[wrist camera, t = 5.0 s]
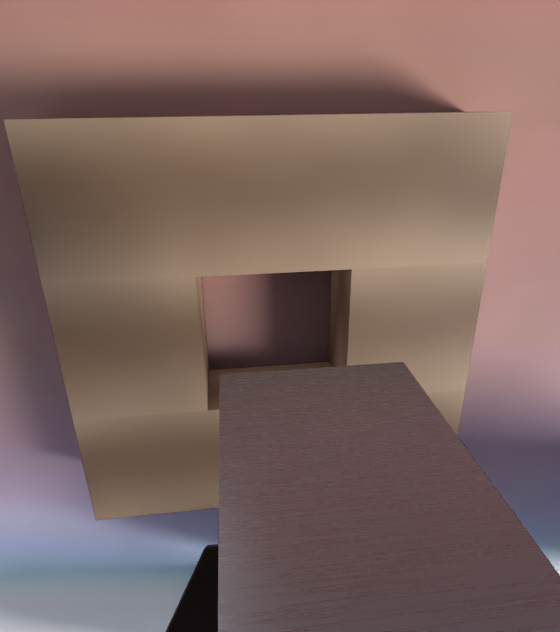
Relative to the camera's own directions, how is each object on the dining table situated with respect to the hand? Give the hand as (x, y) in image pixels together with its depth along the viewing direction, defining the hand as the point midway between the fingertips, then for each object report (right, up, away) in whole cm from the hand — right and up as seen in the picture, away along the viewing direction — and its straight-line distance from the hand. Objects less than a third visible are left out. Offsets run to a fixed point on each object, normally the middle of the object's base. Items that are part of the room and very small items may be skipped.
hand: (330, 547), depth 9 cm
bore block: (-1, +5, +10) cm, 12 cm away
